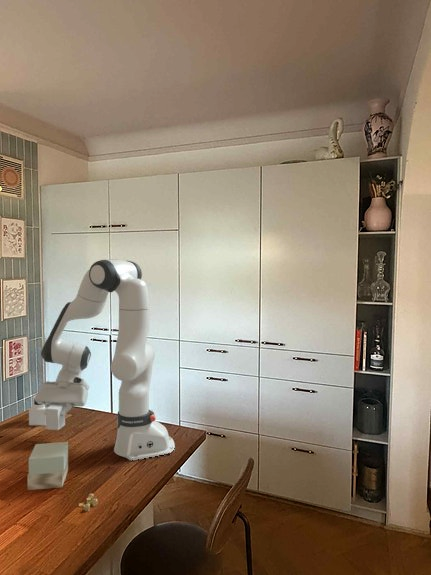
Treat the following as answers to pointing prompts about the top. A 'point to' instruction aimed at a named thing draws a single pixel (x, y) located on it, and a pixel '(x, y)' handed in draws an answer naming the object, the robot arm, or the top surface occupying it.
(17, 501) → the top surface
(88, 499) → the beige lumpy cluster
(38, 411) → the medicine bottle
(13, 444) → the top surface
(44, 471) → the sage block
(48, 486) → the birch block
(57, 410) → the grey block
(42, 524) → the top surface
